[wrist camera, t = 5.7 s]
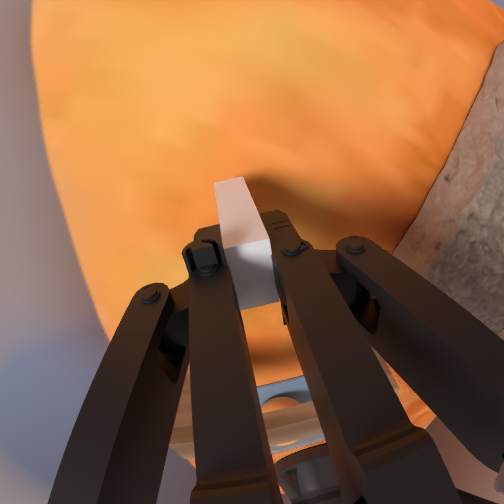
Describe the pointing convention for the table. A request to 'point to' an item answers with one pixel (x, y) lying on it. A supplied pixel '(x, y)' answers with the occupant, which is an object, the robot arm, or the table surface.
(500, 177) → the stone tablet
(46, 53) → the table surface
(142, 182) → the table surface
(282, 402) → the ball
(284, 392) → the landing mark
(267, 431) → the bridge
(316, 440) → the wall
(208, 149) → the table surface
